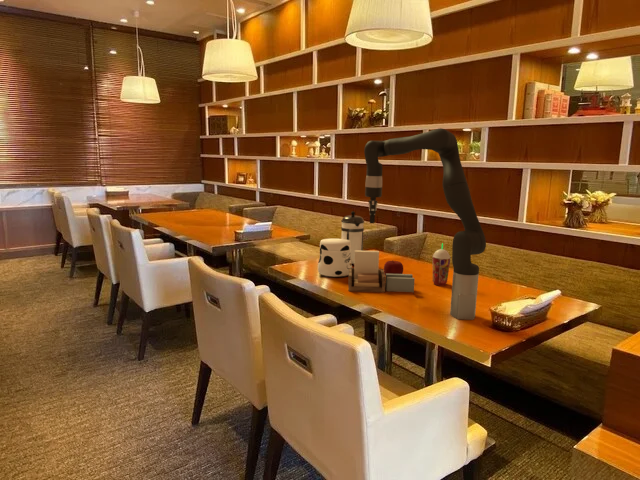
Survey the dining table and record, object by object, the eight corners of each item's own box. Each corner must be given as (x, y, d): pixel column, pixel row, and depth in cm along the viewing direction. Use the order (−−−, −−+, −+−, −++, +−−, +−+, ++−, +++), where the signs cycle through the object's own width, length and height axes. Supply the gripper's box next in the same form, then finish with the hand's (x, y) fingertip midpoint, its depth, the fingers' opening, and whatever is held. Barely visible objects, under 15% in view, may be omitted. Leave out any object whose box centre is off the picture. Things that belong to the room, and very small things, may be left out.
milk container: (357, 278, 226) (359, 243, 222) (326, 281, 218) (327, 245, 215) (341, 270, 241) (342, 237, 238) (312, 273, 234) (312, 239, 230)
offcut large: (378, 291, 201) (379, 283, 201) (354, 290, 202) (354, 282, 201) (377, 287, 207) (378, 279, 206) (353, 286, 208) (354, 279, 207)
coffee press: (369, 263, 259) (372, 210, 253) (357, 268, 245) (358, 213, 240) (343, 258, 268) (344, 208, 262) (329, 264, 254) (330, 211, 249)
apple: (406, 280, 223) (407, 261, 221) (394, 284, 216) (395, 263, 215) (391, 276, 230) (392, 257, 228) (379, 279, 223) (380, 260, 222)
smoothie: (449, 287, 213) (452, 245, 209) (431, 285, 215) (433, 244, 211) (447, 282, 221) (450, 242, 217) (430, 281, 223) (433, 241, 219)
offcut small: (378, 282, 202) (378, 276, 201) (358, 282, 202) (358, 276, 201) (376, 279, 207) (377, 273, 206) (357, 279, 206) (357, 273, 206)
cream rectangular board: (377, 285, 209) (379, 252, 206) (353, 285, 210) (355, 251, 207) (377, 284, 212) (378, 251, 209) (353, 283, 212) (354, 250, 209)
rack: (384, 294, 200) (385, 276, 198) (348, 293, 201) (349, 275, 199) (382, 285, 214) (383, 269, 212) (348, 284, 214) (348, 268, 213)
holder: (413, 294, 201) (414, 278, 200) (386, 293, 202) (387, 278, 200) (411, 288, 209) (412, 274, 208) (385, 288, 210) (385, 273, 208)
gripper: (382, 187, 196) (380, 224, 199) (381, 185, 210) (380, 219, 213) (365, 187, 196) (363, 223, 200) (365, 184, 210) (364, 219, 213)
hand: (372, 221), depth 206 cm, fingers open, 8 cm apart
